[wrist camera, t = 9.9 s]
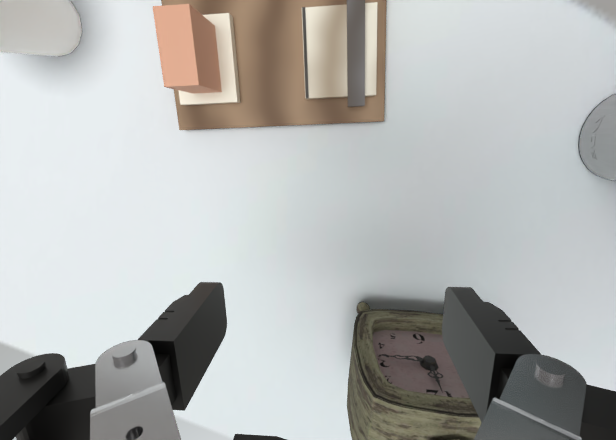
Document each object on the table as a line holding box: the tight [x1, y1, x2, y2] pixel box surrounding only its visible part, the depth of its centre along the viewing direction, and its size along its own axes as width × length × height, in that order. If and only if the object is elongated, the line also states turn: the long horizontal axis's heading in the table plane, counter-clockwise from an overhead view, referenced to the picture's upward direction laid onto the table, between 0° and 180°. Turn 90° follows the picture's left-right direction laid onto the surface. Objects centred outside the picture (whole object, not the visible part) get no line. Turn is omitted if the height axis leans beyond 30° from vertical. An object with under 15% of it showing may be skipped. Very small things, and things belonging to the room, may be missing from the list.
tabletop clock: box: [347, 302, 481, 440], centre depth 31 cm, size 14×9×25 cm, turn 87°
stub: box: [153, 4, 240, 105], centre depth 31 cm, size 6×8×7 cm
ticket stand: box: [161, 0, 386, 130], centre depth 33 cm, size 22×13×4 cm, turn 92°
